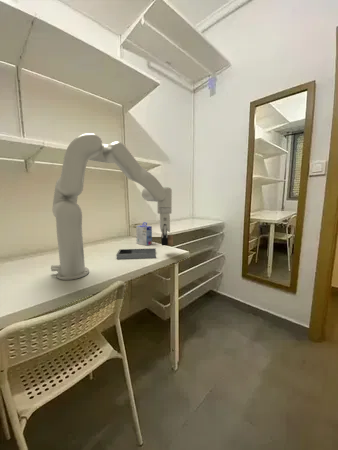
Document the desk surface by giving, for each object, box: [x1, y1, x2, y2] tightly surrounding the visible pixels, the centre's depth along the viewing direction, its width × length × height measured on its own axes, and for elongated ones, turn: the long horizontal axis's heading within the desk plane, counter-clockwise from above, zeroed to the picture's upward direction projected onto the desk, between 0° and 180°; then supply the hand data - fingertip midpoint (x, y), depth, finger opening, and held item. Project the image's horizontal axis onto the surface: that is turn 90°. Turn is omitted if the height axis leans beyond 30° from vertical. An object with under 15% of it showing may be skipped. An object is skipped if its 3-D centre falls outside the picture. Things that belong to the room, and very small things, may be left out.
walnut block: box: [161, 234, 174, 246], centre depth 115 cm, size 6×5×5 cm
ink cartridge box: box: [135, 221, 153, 246], centre depth 140 cm, size 10×6×14 cm, turn 53°
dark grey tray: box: [115, 247, 157, 260], centre depth 115 cm, size 20×10×2 cm, turn 94°
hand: (164, 243), depth 115 cm, fingers closed on walnut block, 5 cm apart
